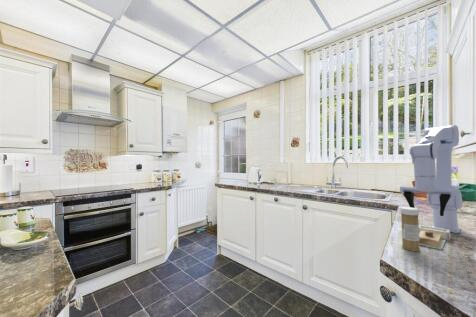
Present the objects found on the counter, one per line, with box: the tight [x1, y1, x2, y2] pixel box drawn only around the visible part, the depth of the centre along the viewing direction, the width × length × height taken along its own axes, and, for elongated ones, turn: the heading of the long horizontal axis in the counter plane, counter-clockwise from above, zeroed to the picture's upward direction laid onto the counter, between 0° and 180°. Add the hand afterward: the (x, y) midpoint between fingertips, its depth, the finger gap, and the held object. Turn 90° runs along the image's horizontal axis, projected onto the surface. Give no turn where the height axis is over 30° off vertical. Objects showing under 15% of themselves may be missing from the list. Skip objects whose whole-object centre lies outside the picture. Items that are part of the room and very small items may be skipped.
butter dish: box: [419, 224, 451, 242], centre depth 76 cm, size 5×9×3 cm, turn 39°
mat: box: [419, 240, 447, 251], centre depth 70 cm, size 11×7×1 cm, turn 129°
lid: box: [419, 231, 442, 247], centre depth 70 cm, size 5×9×3 cm, turn 130°
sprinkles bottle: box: [399, 206, 421, 252], centre depth 65 cm, size 5×5×14 cm
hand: (426, 213), depth 72 cm, fingers open, 7 cm apart
